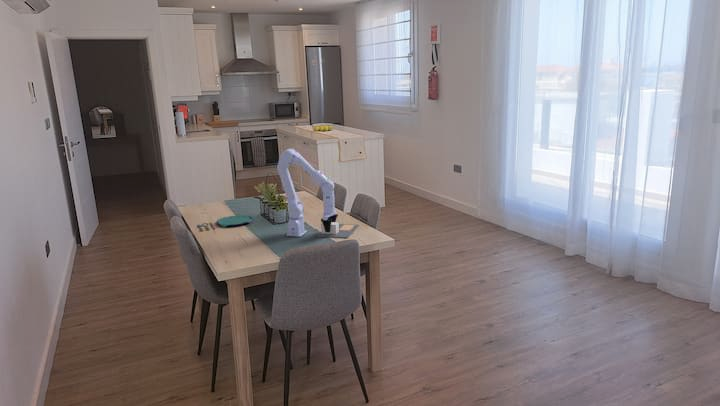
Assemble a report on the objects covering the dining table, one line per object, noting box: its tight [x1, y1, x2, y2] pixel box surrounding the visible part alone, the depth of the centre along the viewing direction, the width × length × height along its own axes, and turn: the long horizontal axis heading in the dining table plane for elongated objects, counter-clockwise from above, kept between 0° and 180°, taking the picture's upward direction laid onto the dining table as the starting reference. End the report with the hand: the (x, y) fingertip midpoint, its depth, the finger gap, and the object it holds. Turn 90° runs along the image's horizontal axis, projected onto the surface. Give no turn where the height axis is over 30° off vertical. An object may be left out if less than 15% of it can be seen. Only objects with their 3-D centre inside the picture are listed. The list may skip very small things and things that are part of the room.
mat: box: [316, 223, 360, 239], centre depth 260 cm, size 22×16×1 cm
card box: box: [320, 221, 340, 234], centre depth 255 cm, size 4×8×5 cm, turn 75°
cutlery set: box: [197, 214, 253, 232], centre depth 278 cm, size 20×30×2 cm, turn 116°
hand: (330, 229), depth 255 cm, fingers open, 7 cm apart
